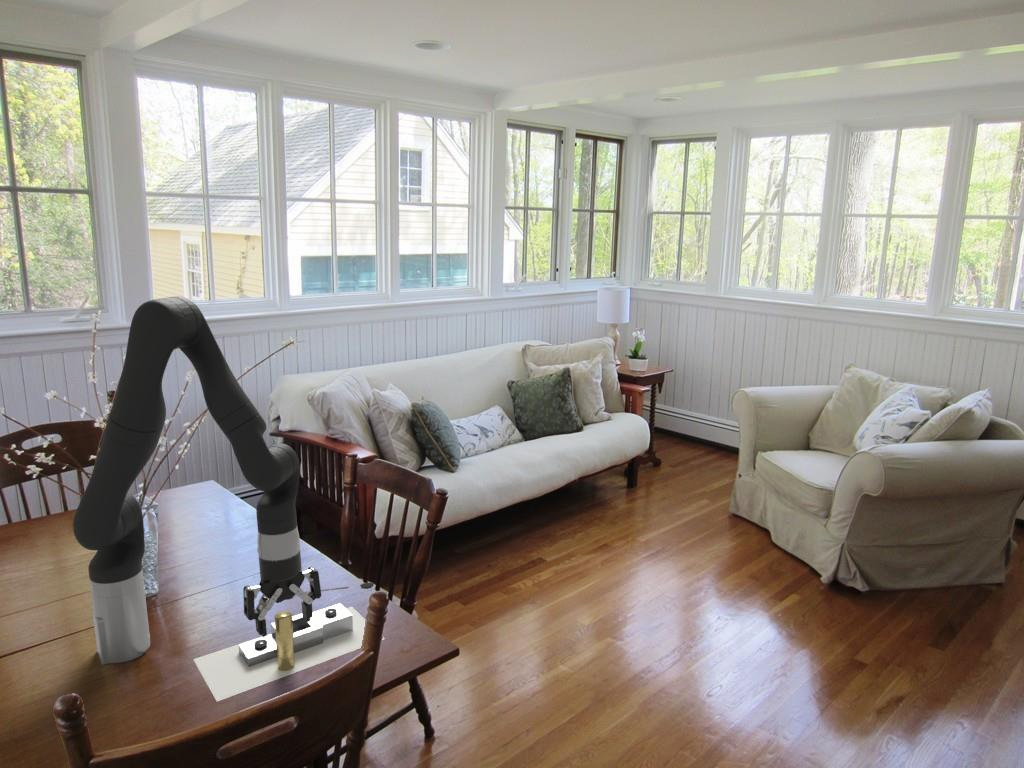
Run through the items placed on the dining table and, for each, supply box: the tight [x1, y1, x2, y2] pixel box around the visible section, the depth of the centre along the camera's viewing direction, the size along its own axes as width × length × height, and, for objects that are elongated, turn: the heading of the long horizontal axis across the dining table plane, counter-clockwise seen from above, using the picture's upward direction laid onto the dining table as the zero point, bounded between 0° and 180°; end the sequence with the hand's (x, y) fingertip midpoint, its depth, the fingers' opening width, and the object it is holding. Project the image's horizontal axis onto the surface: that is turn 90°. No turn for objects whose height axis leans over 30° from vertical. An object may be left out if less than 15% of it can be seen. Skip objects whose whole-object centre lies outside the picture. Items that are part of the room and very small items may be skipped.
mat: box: [192, 606, 386, 703], centre depth 148 cm, size 34×16×1 cm, turn 127°
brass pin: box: [274, 610, 295, 671], centre depth 141 cm, size 3×3×11 cm
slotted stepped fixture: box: [237, 602, 353, 667], centre depth 150 cm, size 22×8×4 cm, turn 127°
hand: (285, 627), depth 140 cm, fingers open, 8 cm apart
